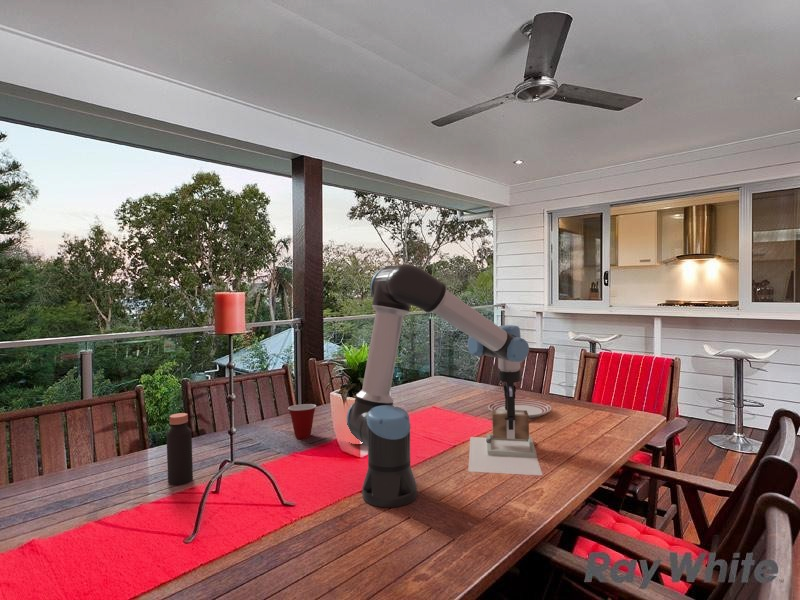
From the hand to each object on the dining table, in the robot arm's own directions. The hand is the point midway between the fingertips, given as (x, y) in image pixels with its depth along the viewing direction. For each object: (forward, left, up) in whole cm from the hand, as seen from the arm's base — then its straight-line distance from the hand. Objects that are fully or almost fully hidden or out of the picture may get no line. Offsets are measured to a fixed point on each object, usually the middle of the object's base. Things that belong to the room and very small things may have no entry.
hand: (510, 434), depth 160 cm
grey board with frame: (-3, -7, -5) cm, 9 cm away
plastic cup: (-78, +3, -5) cm, 78 cm away
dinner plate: (+7, +46, -5) cm, 47 cm away
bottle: (-99, -41, -5) cm, 107 cm away
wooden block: (0, 0, 0) cm, 0 cm away
